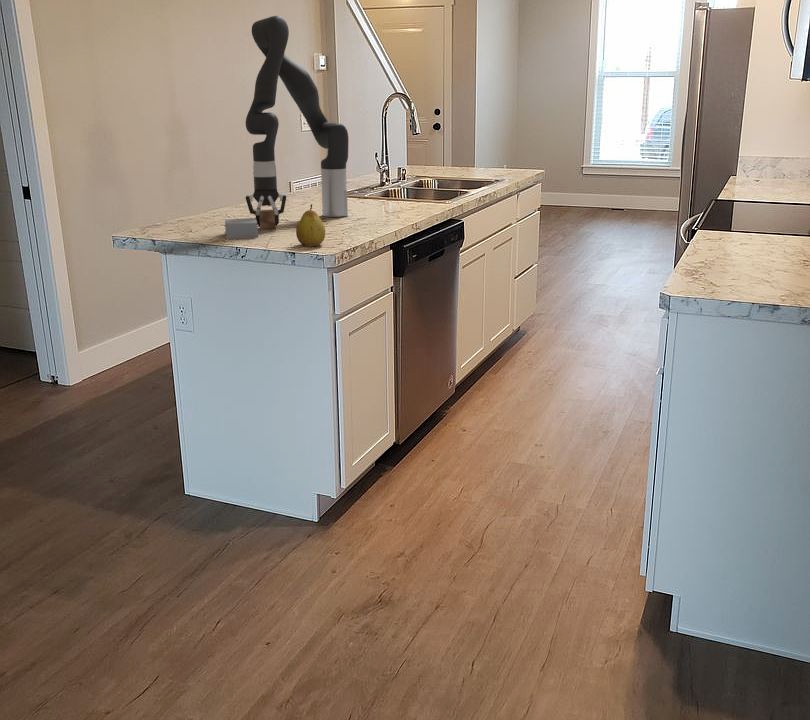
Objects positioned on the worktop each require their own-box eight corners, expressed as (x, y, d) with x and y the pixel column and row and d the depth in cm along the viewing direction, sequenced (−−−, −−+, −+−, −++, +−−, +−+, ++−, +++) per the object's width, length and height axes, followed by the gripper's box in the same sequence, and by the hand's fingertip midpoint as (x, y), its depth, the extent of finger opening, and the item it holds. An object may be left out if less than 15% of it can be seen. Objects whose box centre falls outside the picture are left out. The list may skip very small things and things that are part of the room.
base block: (256, 233, 277) (255, 218, 275) (258, 238, 267) (257, 222, 266) (225, 234, 275) (224, 219, 273) (226, 239, 265) (225, 223, 264)
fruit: (310, 249, 248) (309, 208, 244) (290, 245, 254) (288, 205, 250) (332, 245, 254) (330, 205, 250) (311, 241, 260) (310, 202, 256)
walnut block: (275, 227, 287) (274, 209, 285) (275, 229, 282) (274, 211, 280) (260, 227, 286) (259, 210, 284) (260, 230, 282) (259, 212, 280)
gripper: (286, 173, 283) (289, 223, 288) (243, 174, 281) (246, 224, 287) (286, 175, 276) (288, 227, 281) (242, 176, 274) (245, 228, 279)
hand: (267, 225), depth 284 cm, fingers closed on walnut block, 5 cm apart
